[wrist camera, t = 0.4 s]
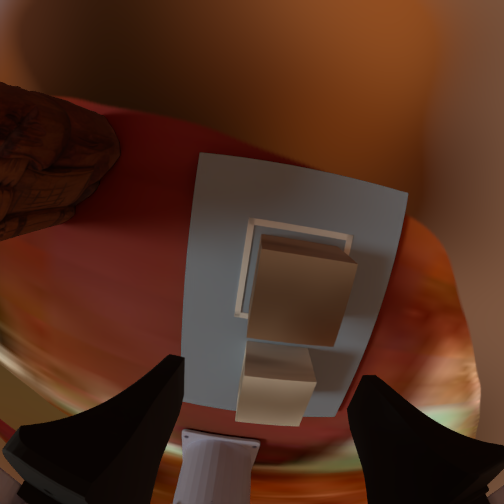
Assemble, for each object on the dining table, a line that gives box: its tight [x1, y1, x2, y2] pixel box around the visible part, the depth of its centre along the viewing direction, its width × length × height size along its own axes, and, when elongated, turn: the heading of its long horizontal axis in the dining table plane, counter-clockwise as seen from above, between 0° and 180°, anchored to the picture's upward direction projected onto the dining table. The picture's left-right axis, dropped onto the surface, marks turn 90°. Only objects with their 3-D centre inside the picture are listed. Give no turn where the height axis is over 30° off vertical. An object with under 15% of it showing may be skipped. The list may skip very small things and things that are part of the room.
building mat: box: [181, 152, 408, 417], centre depth 19 cm, size 20×14×1 cm
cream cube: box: [235, 341, 317, 426], centre depth 18 cm, size 4×4×4 cm
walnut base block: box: [246, 234, 358, 347], centre depth 16 cm, size 5×5×4 cm
